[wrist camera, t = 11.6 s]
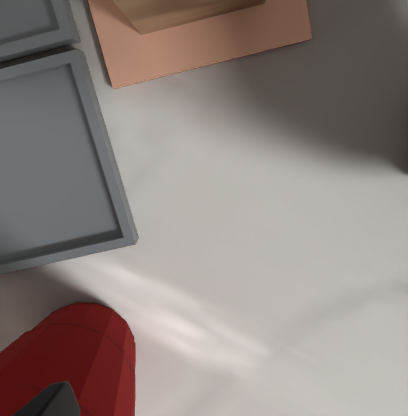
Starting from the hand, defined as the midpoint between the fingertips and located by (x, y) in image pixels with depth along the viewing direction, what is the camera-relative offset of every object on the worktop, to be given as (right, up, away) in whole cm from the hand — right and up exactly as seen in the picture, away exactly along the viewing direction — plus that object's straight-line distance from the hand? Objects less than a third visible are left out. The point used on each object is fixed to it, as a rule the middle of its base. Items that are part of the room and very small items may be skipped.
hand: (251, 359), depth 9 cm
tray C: (-11, +5, +11) cm, 16 cm away
